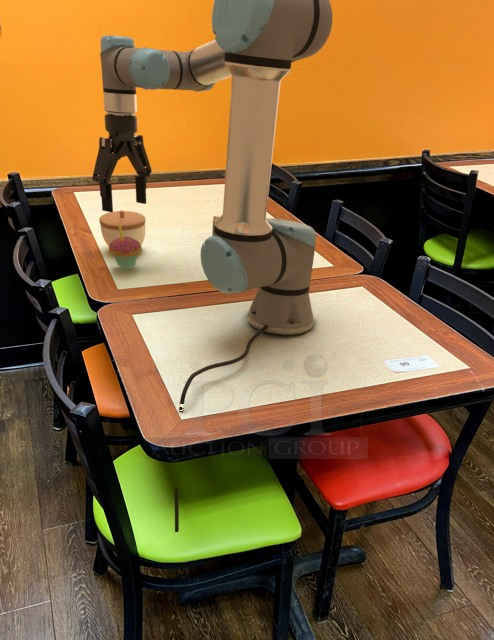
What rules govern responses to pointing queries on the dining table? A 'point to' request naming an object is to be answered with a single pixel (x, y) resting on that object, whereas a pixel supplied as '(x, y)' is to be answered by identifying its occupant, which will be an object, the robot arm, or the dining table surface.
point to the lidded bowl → (122, 225)
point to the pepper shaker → (214, 221)
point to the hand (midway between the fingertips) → (125, 207)
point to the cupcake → (125, 250)
